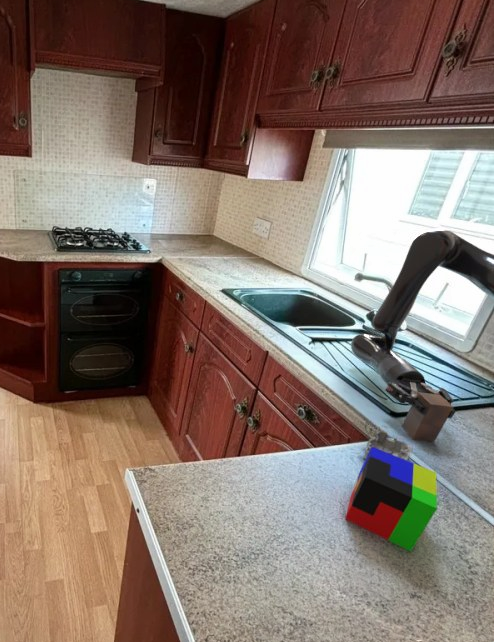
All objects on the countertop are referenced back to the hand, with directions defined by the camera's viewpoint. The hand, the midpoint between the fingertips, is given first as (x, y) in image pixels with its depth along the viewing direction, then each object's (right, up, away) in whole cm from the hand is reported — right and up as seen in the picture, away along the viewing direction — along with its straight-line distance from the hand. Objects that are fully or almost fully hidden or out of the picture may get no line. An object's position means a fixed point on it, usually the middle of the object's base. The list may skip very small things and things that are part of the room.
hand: (438, 413), depth 91 cm
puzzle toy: (-25, -15, -18) cm, 35 cm away
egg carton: (-15, -9, -3) cm, 18 cm away
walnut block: (0, -6, +6) cm, 8 cm away
